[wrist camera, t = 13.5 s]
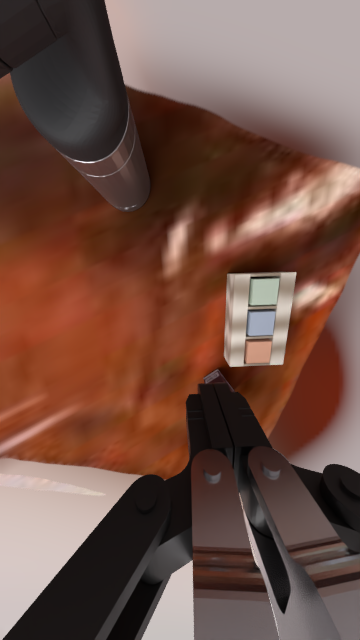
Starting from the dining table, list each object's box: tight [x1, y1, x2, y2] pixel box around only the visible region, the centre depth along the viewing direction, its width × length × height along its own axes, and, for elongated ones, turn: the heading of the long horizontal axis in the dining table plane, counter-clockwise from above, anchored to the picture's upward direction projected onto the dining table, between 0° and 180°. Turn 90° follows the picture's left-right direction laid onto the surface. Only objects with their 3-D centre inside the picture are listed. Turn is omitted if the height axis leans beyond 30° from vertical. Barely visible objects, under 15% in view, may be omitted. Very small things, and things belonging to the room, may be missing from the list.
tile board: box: [224, 272, 296, 367], centre depth 40 cm, size 20×12×5 cm, turn 2°
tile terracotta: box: [244, 338, 272, 364], centre depth 41 cm, size 5×5×4 cm
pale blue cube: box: [246, 309, 276, 336], centre depth 39 cm, size 5×5×4 cm
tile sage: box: [248, 277, 280, 305], centre depth 37 cm, size 5×5×4 cm
